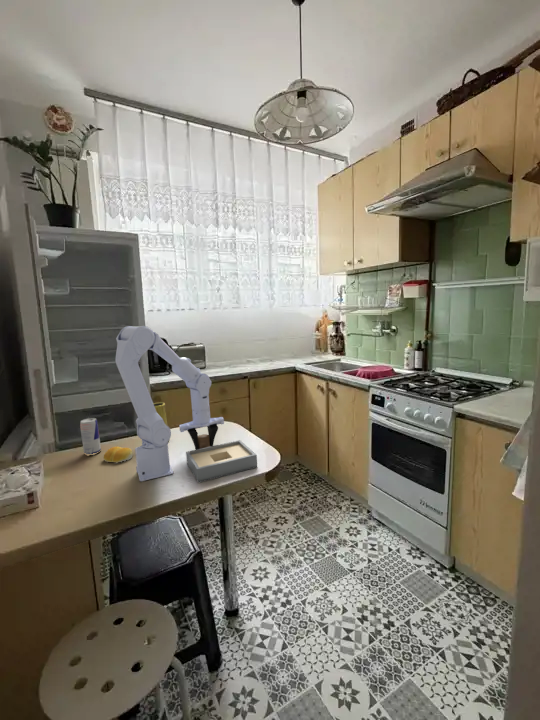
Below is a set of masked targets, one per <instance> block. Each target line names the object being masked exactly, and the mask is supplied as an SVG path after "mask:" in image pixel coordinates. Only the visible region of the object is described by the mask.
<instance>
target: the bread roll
mask: <svg viewBox="0 0 540 720" xmlns="http://www.w3.org/2000/svg"><path fill="white" fill-rule="evenodd" d="M133 455H134V452H133V450H132V448H130V447H121V446H118V445H117V446H112V447H110V448H108V449H107V450H106V451H105V452H104V454H103V460H104V461H105V462H106V461H109V462H116V463H115V464H118V463H117V462H121V463H123V462H122V461H124V462H127V461H129V460H130V459H131V458H132V457H133ZM126 460H127V461H126Z"/></svg>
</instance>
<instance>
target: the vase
mask: <svg viewBox="0 0 540 720" xmlns="http://www.w3.org/2000/svg"><path fill="white" fill-rule="evenodd" d="M153 404H154V407H155V409H156V412H157V413H158V414H159V415H160V416H161V418H162V419H163V421H164V423H165V424H166V425H167V426H168V421H167V420H168V419H167V418H168V417H167V411H166V403H165V402H161V401H160V402H159V401H158V402H155V403H154V402H153ZM170 440H171V438H170V439H169V441H170Z"/></svg>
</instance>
